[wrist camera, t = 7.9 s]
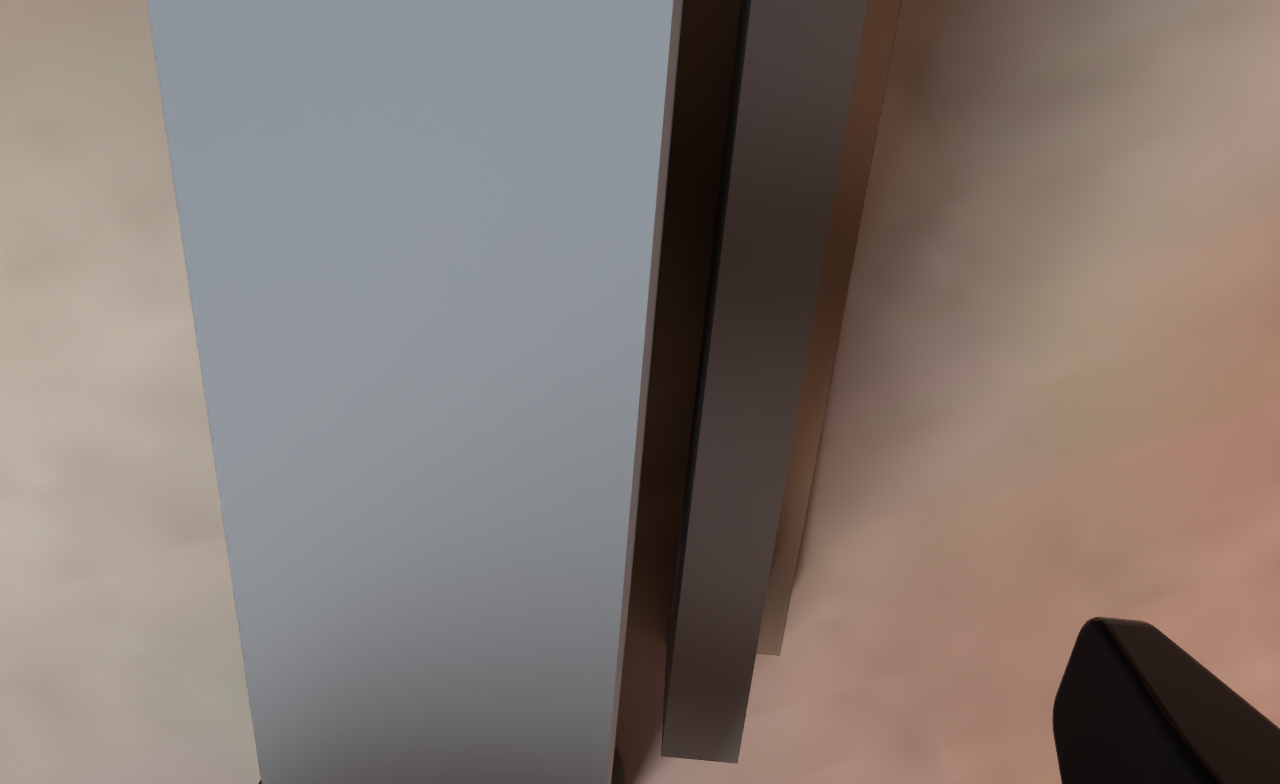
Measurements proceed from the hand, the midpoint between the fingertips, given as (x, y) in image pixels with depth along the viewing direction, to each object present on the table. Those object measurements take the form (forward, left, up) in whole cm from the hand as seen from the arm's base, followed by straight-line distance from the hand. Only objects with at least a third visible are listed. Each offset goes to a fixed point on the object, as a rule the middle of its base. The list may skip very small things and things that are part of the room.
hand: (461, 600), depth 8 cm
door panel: (0, 0, -8) cm, 8 cm away
